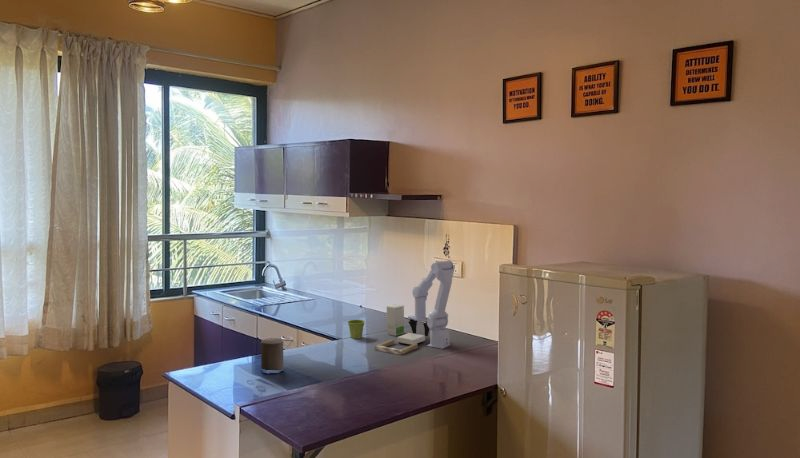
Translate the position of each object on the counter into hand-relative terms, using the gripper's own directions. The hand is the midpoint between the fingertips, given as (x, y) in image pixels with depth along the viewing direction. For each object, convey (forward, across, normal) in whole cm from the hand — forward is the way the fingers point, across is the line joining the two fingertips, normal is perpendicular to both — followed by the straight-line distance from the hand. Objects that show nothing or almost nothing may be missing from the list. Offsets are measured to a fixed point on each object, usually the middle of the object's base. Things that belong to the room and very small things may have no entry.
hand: (420, 334), depth 312 cm
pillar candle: (+3, +25, +81) cm, 84 cm away
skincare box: (+3, +18, -2) cm, 18 cm away
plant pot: (+3, +31, +16) cm, 35 cm away
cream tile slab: (+2, 0, +9) cm, 9 cm away
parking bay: (+2, 0, +21) cm, 21 cm away
